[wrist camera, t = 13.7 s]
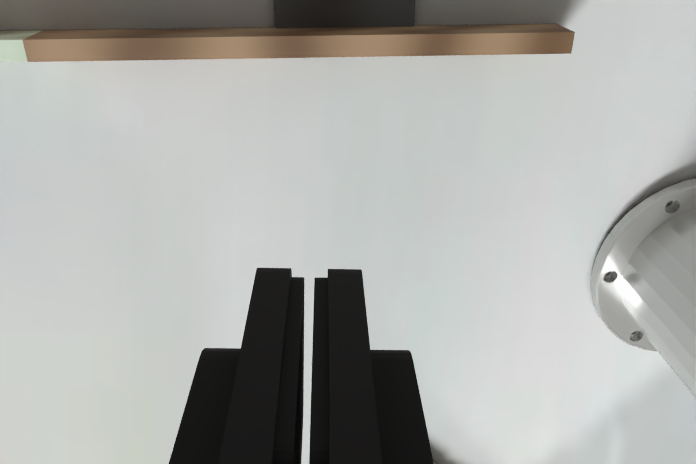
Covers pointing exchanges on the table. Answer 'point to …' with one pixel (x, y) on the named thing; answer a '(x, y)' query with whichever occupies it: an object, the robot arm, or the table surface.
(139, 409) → the table surface
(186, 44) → the frame
